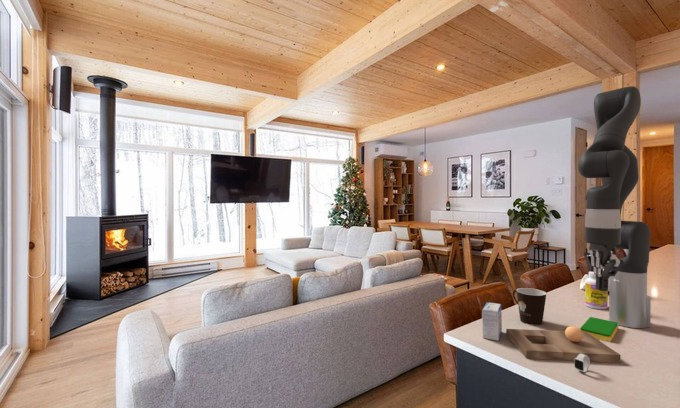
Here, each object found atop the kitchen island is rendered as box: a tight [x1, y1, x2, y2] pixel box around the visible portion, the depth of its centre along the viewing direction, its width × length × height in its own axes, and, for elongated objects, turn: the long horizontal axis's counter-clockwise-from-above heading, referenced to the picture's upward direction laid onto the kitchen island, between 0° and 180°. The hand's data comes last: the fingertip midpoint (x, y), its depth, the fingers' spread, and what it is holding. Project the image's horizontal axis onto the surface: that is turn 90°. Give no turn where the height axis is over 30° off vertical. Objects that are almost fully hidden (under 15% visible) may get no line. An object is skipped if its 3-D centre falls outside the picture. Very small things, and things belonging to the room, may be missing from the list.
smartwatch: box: [573, 354, 591, 373], centre depth 78 cm, size 4×2×4 cm, turn 118°
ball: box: [564, 326, 583, 342], centre depth 90 cm, size 4×4×4 cm
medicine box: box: [481, 302, 503, 341], centre depth 99 cm, size 8×4×9 cm, turn 148°
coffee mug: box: [512, 287, 547, 326], centre depth 111 cm, size 12×9×10 cm
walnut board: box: [505, 328, 621, 364], centre depth 90 cm, size 22×14×2 cm, turn 82°
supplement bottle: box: [584, 270, 609, 310], centre depth 122 cm, size 7×7×13 cm
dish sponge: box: [579, 316, 619, 343], centre depth 101 cm, size 7×14×2 cm, turn 132°
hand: (601, 290), depth 88 cm, fingers closed
